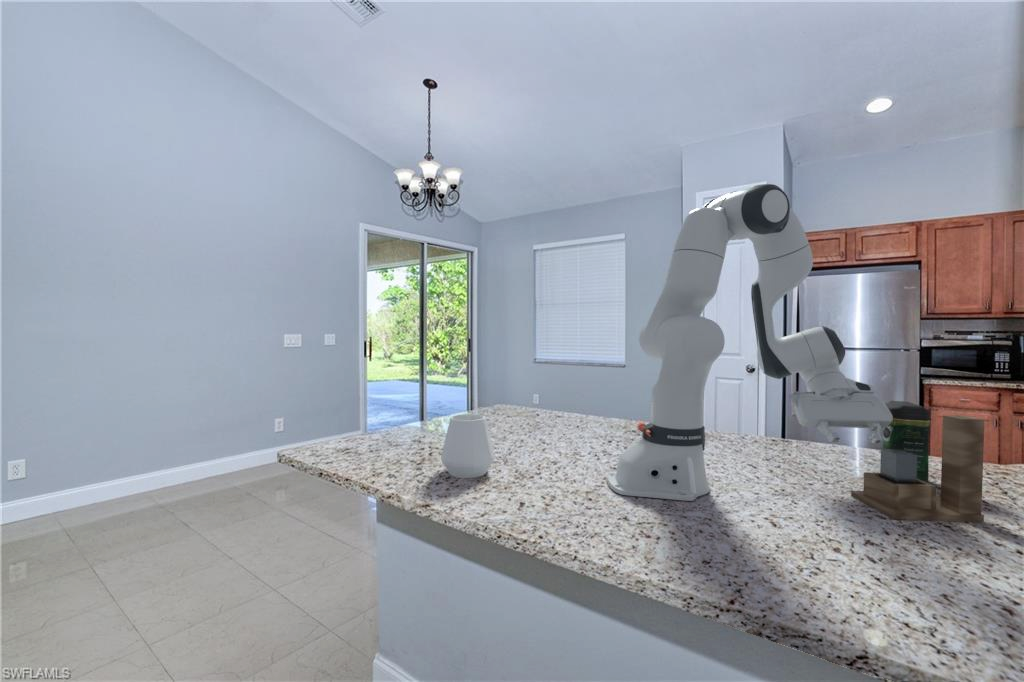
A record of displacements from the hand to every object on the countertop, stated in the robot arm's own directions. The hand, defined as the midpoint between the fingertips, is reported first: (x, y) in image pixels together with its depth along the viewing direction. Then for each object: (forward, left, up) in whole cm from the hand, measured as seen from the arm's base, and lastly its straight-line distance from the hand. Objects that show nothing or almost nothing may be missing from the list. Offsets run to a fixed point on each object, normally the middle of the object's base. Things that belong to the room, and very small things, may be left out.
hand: (856, 441), depth 104 cm
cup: (-90, +4, -11) cm, 91 cm away
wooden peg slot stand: (+3, -13, -10) cm, 17 cm away
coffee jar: (+16, +6, -11) cm, 20 cm away
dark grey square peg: (0, -12, -9) cm, 15 cm away
